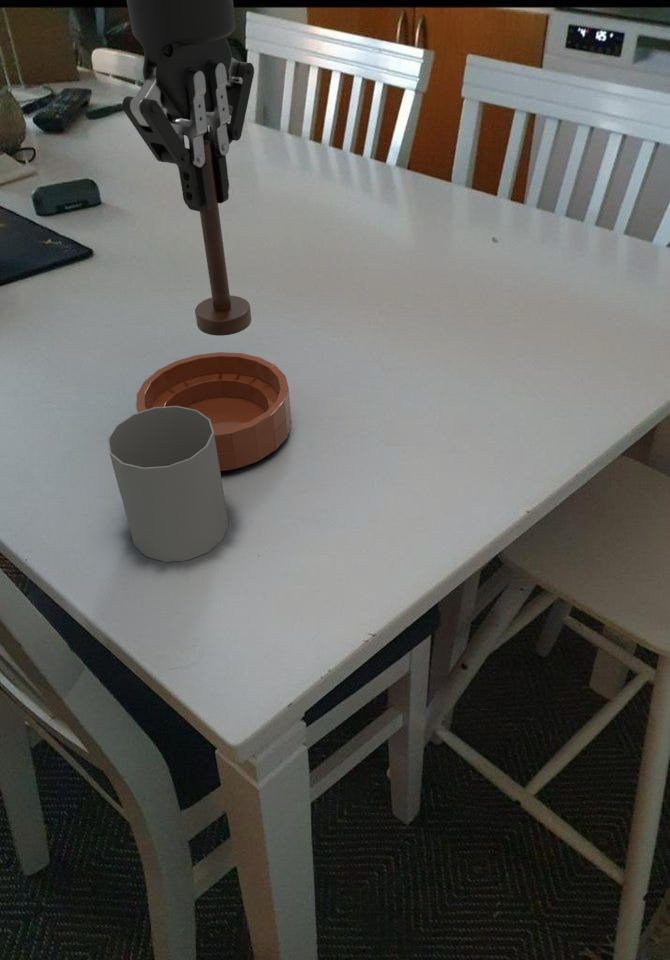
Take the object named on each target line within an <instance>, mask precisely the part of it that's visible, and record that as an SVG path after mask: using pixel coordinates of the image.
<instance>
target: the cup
mask: <svg viewBox="0 0 670 960" xmlns="http://www.w3.org/2000/svg"><path fill="white" fill-rule="evenodd" d="M107 446H108V454H109V456H110V460H111V461H110V462H111V465H112V468H113V471H114V475H115V480H116V483H117V487H118V491H119V494H120V498H121V501H122V505H123V506H122V507H123V509H124V513H125V515H126V516H125V517H126V520H127V524H128V529H129V531H130V534H131V538H132V543H133V546H134V547H136V549H137V550H139V552H140V553H142V555H144V556H145V558H150V559H154V560H157V561H160V562H164V563H170V562H183V561H190V560H192V559H195V558H198V557H200V556H203V555H205V554H208V553H209V552H210V551H211V550H213V549H214V548H215V547H217V545H218V544H220V543H221V542H222V541H223V540H224V538H225V535H226V533H227V530H228V527H229V525H230V523H229V517H228V510H227V503H226V499H225V493H224V487H223V482H222V473H221V471H220V467H219V461H218V455H217V449H216V443H215V436H214V431H213V428H212V425H211V421H210V419H209V418H207V417H206V416H204V415H203V414H202V413H200V412H199V411H197V410H194V409H189V408H184V407H180V406H168V407H154V408H151V409H148V410H145V411H142V412H139V413H138V412H135V413H133V414H130V416H128V417H127V418H126V419H123V420H122V421H121V422H119V423H118V424H116V425H115V426H114V428H113V429H112V432H111V433H110V434H109V436H108V438H107Z"/></svg>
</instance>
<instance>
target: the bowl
mask: <svg viewBox="0 0 670 960" xmlns="http://www.w3.org/2000/svg"><path fill="white" fill-rule="evenodd" d="M135 400H136V401H135V402H136V404H135V405H136V407H135V408H136V413H139V412H142V411H145V410H148V409H151V408H154V407H168V406H180V407H184V408H189V409H194V410H197V411H199V412H200V413H202V414H203V415H204V416H206V417H207V418H209V419H210V421H211V425H212V428H213V431H214V436H215V443H216V449H217V455H218V461H219V467H220V472H223V471H225V472H226V471H231V470H237V469H240V468H243V467H246V466H248V465H251V464H252V465H253V464H255V463H257V462H259V461H261V460H263V459H265V457H267V456H269V455H271V454H272V453H274V452H275V451H277V449H279V447H280V446H282V444H283V443H284V442H285V440H287V438H288V436H289V433H290V429H291V426H292V412H291V400H290V388H289V384H288V379H287V376H286V375H285V373H283V372H282V370H281V369H280V368H279V367H278V366H277V365H276V364H274V363H272V362H270V361H268V360H267V359H264V358H262V357H260V356H255V355H251V354H246V353H243V352H224V351H220V352H219V351H217V352H209V353H201V354H194V355H192V356H189V357H185V358H182V359H178V360H174V361H172V362H170V363H169V364H167V365H164V366H163V367H161V368H158V369H157V370H156V371H155V372H154V373H152V374H151V375H150V376H149V377H147V378H146V379H145V380H144V381H143V383H142V384H141V385H140V388H139V390H138V391H137V393H136V399H135Z"/></svg>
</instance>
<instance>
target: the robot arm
mask: <svg viewBox="0 0 670 960" xmlns="http://www.w3.org/2000/svg"><path fill="white" fill-rule="evenodd" d="M126 4H127V10H128V17H129V23H130V29H131V33H132V36H133V37H134V38H135V39H136V40H137V41H138V42H139V44H140V45H141V47H142V49H143V53H144V55H143V57H144V59H143V66H142V77H143V80H144V83H143V84H142V86H141V87H140V89H139V90H138V92H137V93H136V95H135V96H130V95H129V96H124V98H123V99H122V104H121V105H122V106H121V107H122V110H123V112H124V114H125V115H126V117H127V118H128V119H129V121H130V122H131V124H132V126H133V127H134V129H135V130H136V131H137V133H138V134H139V135H140V137H141V138H142V140H143V141H144V143H145V144H146V146H147V147H148V149H149V151H150V152H151V153H152V155H153V156H154V158H155V159H156V160H157V161H158V162H161V163H168V164H174V165H176V167H177V168H178V173H179V179H180V185H181V192H182V199H183V202H184V204H185V205H186V206H187V208H188V209H189V210H190V211H196V212H199V213H200V212H207V211H208V210H210V209H212V198H211V190H210V183H209V175H208V168H207V165H205V164H204V163H205V152H204V142H203V140H208V141H210V145H211V153H212V161H213V168H214V176H215V184H216V192H217V200H218V204H223V203H225V202H226V201H228V200H229V197H230V196H229V190H230V181H229V174H228V172H229V171H228V164H227V154H228V153H229V152H230V144H231V143H232V142H233V141H235V142H237V141H239V140H240V139H241V137H242V134H243V130H244V124H245V119H246V115H247V114H246V113H247V110H248V104H249V100H250V95H251V91H252V86H253V85H252V84H253V80H254V75H255V68H254V64H253V63H252V62H246V61H245V62H244V61H239V60H237V59H236V58H234V57H232V56H233V54H232V49H231V46H230V44H229V42H228V39H227V37H229V36H230V35H232V34H233V33H234V31H235V29H236V17H235V10H234V9H235V7H234V0H126ZM230 109H231V113H230ZM185 137H186V138H187V140H188V147H186V143H185Z"/></svg>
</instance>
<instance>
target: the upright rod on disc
mask: <svg viewBox="0 0 670 960" xmlns="http://www.w3.org/2000/svg"><path fill="white" fill-rule="evenodd" d="M203 142H204V152H205V163H204V164H205V165H207V168H208V175H209V183H210V190H211V198H212V209H210V210H208V211H207V212H199V216H200V223H201V230H202V231H201V232H202V237H203V244H204V252H205V258H206V259H205V260H206V264H207V272H208V278H209V285H210V293H211V297H209V298H206V299H204V300H201V302H199V303H198V304H197V305H196V306H195V309H194V314H195V320H196V327H197V328H198V330H199V331H200V332H202V333H203V334H206V335H211V336H219V337H221V336H222V337H223V336H230V335H236V334H238V333H240V332H243V331H244V330H246V329H247V328H249V327H250V325H251V323H252V312H251V304H250V302H249V301H248V300H247V299H245V298H243V297H240V296H237V295H231V294H230V286H229V279H228V269H227V263H226V255H225V247H224V241H223V239H224V238H223V232H222V231H223V230H222V224H221V215H220V208H219V203H218V200H217V192H216V184H215V176H214V168H213V161H212V153H211V145H210V141H208V140H203Z"/></svg>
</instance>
